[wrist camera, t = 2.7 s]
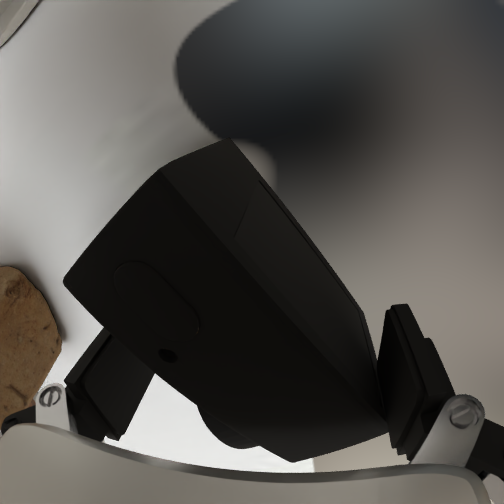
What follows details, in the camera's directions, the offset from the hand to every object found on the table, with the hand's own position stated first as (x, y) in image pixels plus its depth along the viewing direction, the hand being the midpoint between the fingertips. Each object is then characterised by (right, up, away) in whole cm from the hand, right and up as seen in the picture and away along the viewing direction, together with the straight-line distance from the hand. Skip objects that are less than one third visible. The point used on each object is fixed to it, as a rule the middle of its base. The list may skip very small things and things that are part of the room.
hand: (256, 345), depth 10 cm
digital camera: (0, +3, +3) cm, 4 cm away
